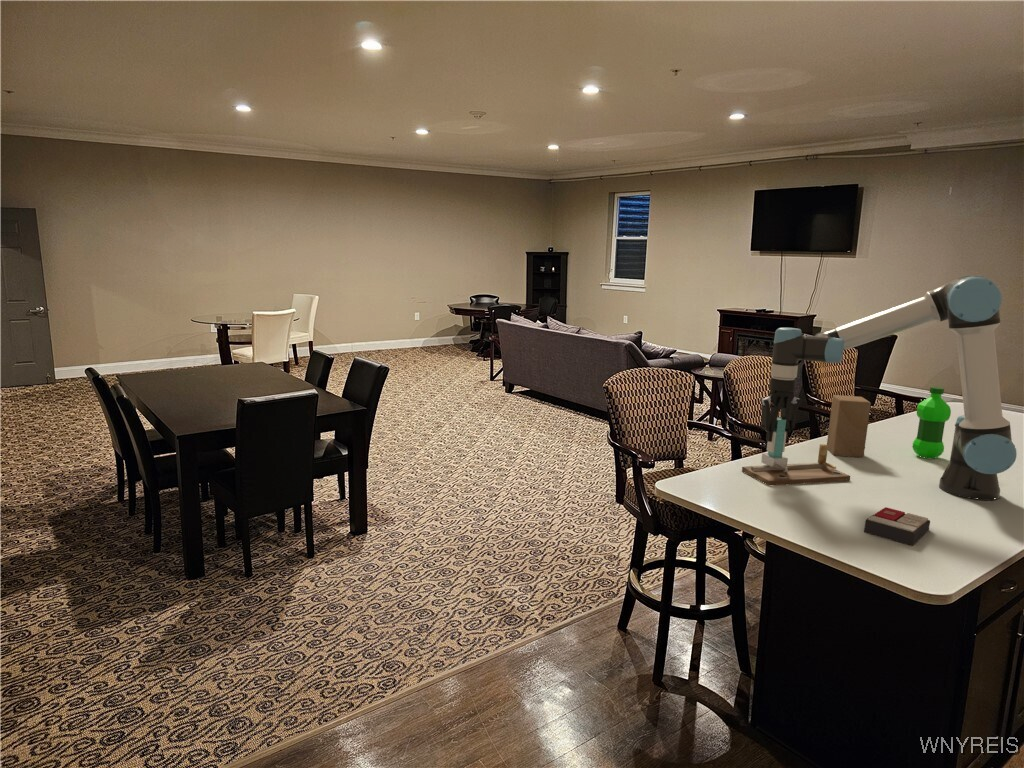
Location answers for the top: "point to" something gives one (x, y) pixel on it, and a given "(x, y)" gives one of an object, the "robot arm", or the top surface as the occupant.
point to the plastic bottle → (931, 424)
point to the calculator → (897, 526)
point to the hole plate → (799, 472)
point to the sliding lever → (777, 448)
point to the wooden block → (848, 425)
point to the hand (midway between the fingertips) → (775, 450)
